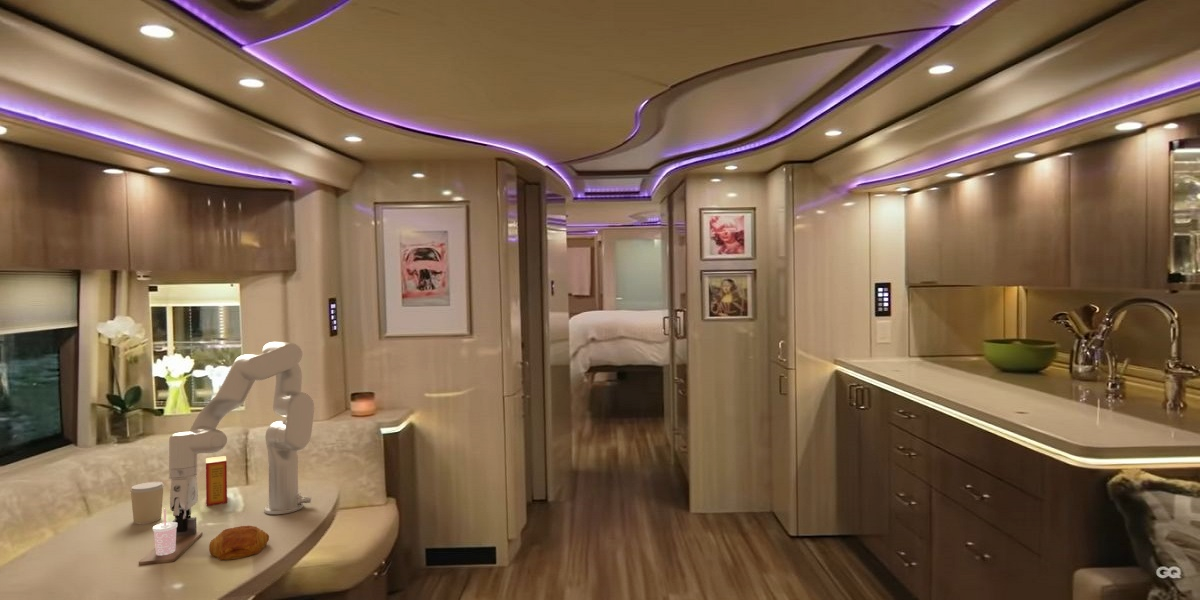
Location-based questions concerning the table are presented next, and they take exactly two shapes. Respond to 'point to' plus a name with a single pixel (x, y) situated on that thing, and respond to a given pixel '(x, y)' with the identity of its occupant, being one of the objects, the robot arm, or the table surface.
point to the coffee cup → (147, 502)
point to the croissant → (238, 542)
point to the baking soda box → (216, 480)
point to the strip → (182, 545)
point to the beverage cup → (165, 537)
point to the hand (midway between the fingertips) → (183, 529)
